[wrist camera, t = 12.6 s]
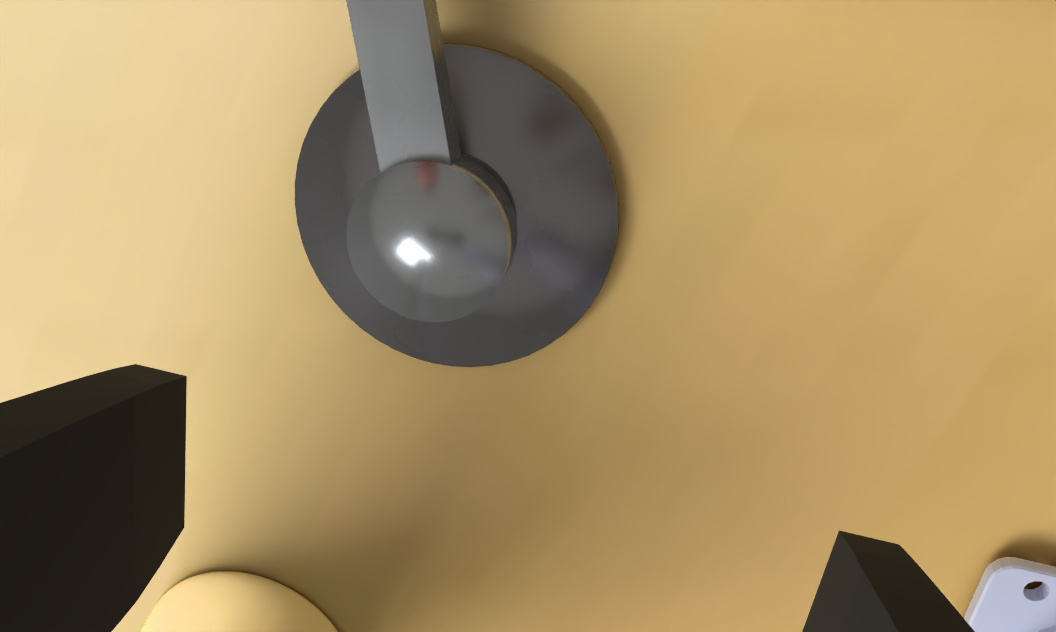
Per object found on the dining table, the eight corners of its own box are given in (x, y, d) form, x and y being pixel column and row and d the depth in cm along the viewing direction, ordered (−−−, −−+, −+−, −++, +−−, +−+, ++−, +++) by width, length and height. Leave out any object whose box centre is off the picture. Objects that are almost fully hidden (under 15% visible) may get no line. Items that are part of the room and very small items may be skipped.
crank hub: (651, 79, 18) (648, 86, 17) (584, 391, 21) (580, 409, 20) (311, 13, 19) (293, 17, 18) (291, 324, 22) (274, 339, 21)
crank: (528, 298, 19) (481, 393, 15) (380, 309, 20) (299, 401, 16) (456, -190, 16) (373, -232, 12) (283, -157, 16) (150, -188, 12)
